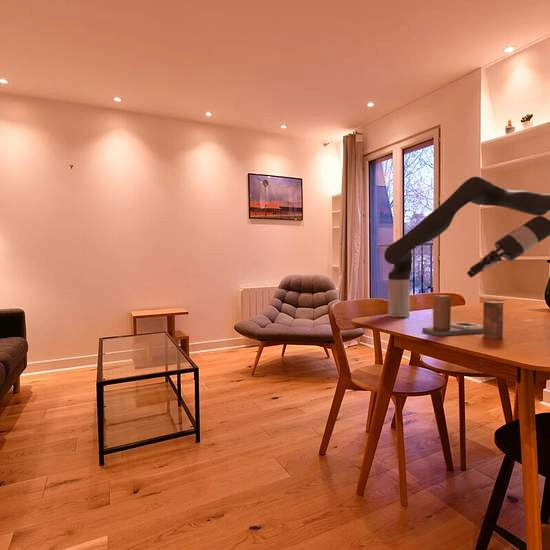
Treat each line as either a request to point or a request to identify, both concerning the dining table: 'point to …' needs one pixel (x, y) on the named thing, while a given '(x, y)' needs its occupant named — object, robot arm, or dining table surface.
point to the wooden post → (493, 320)
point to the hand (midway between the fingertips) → (470, 273)
